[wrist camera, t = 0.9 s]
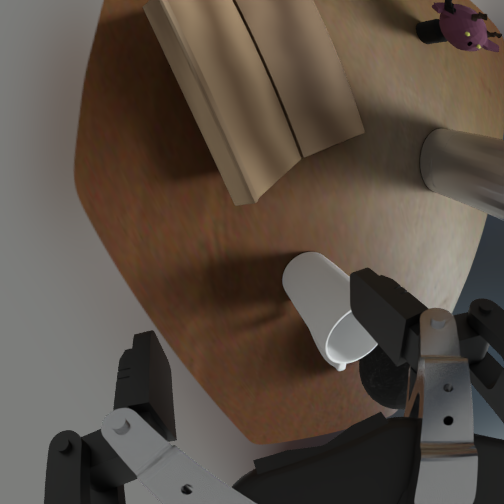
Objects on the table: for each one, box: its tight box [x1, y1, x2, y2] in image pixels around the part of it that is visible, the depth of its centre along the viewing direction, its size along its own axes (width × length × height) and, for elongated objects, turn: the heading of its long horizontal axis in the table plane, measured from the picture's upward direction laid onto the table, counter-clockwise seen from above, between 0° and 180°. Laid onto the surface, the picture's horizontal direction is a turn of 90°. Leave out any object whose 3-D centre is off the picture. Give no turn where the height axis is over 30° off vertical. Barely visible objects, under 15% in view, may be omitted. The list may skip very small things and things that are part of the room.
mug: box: [282, 252, 378, 371], centre depth 31 cm, size 10×7×12 cm, turn 178°
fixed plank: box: [232, 0, 365, 158], centre depth 25 cm, size 8×18×2 cm, turn 23°
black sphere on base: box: [359, 345, 410, 409], centre depth 37 cm, size 13×13×15 cm
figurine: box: [416, 0, 502, 52], centre depth 21 cm, size 8×8×12 cm
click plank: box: [143, 0, 301, 206], centre depth 22 cm, size 9×18×2 cm
